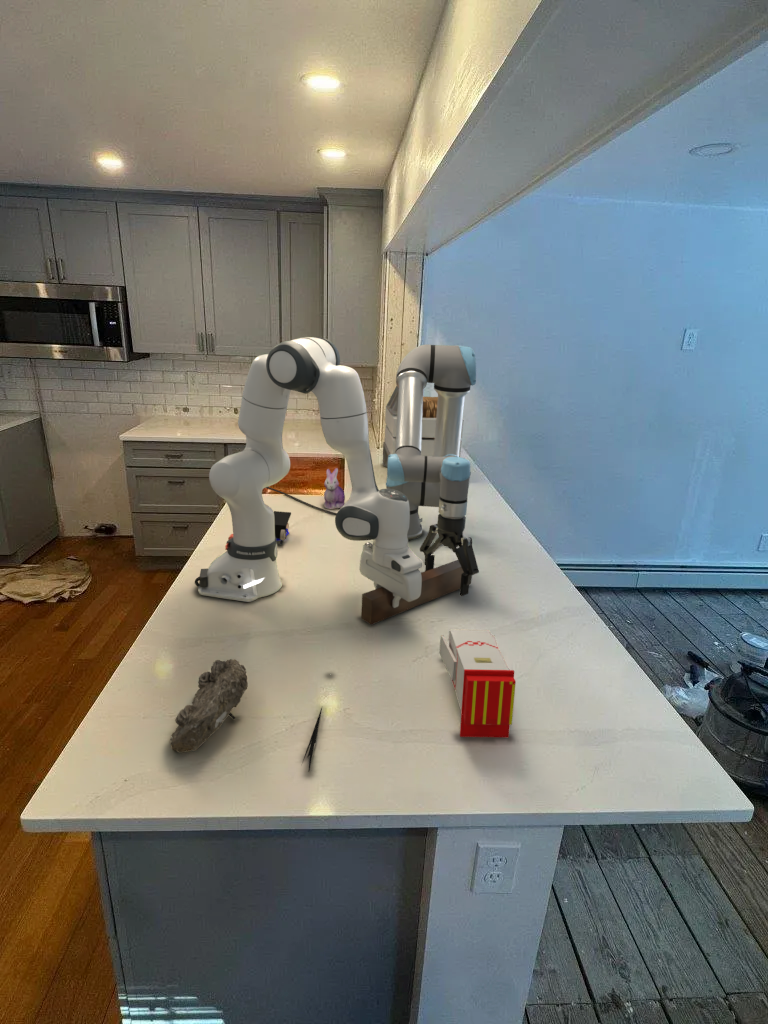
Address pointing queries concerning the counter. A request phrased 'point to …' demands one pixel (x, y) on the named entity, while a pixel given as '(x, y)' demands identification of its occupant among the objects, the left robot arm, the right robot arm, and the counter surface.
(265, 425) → the left robot arm
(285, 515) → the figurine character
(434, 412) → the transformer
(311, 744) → the feather
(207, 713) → the fossil
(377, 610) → the walnut rail
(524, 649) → the counter surface
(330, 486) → the figurine
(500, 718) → the toy
